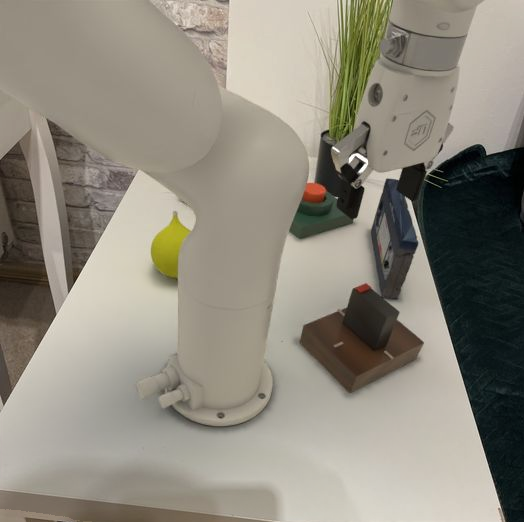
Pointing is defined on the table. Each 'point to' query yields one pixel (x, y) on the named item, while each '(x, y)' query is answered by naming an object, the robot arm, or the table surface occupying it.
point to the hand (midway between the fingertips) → (377, 204)
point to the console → (357, 350)
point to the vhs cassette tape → (393, 240)
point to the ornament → (168, 247)
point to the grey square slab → (370, 316)
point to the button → (314, 193)
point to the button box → (318, 217)
